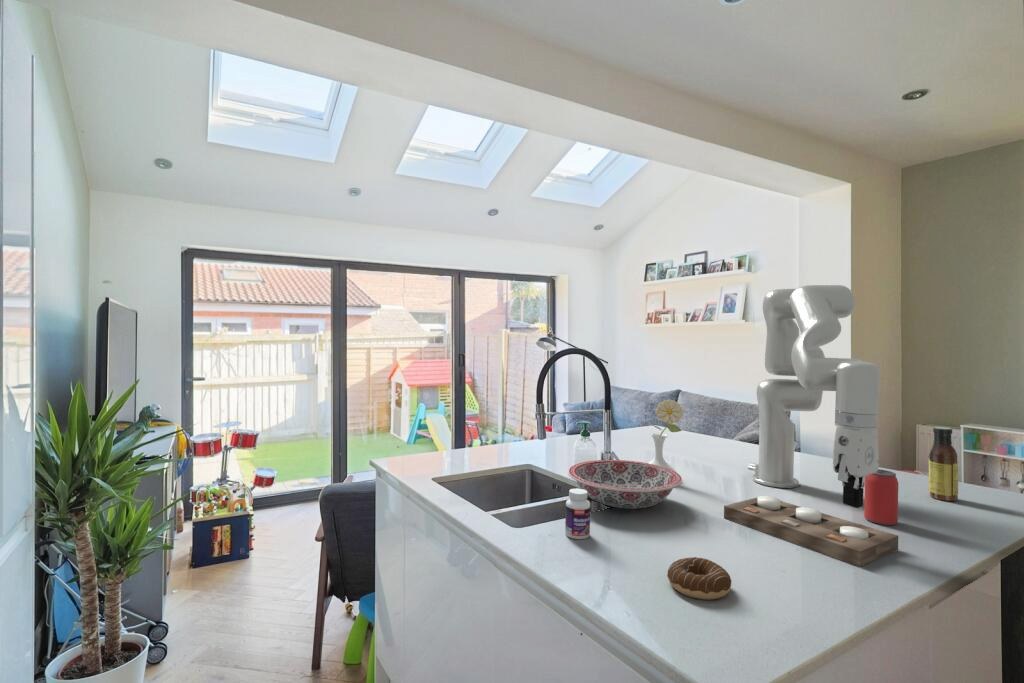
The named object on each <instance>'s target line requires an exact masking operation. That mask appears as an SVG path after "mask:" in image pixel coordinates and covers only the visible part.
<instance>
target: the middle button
mask: <svg viewBox="0 0 1024 683" xmlns="http://www.w3.org/2000/svg"><path fill="white" fill-rule="evenodd" d="M821 513H822V512H821V511H820V510H819V509H815V508H811V507H805V506H800V507H799V508H796V519H797V520H800V521H803V522H806V523H811V524H819V523H821Z"/></svg>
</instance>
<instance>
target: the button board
mask: <svg viewBox="0 0 1024 683" xmlns="http://www.w3.org/2000/svg"><path fill="white" fill-rule="evenodd" d="M758 497H759V496H757V497H753V498H750V499H746V500H742V501H738V502H734V503H729V504H725V505H724V506H723V519H725V520H728V521H732V522H734V523H737V524H738V525H742V526H745V527H748V528H751V529H753V530H756V531H759V532H762V533H764V534H767V535H770V536H773V537H776V538H778V539H782V540H783V541H786V542H790V543H792V544H794V545H795V544H796V545H798V546H800V547H803V548H806V549H808V550H811V551H815V552H818V553H820V554H823V555H825V556H828V557H831V558H834V559H836V560H839V561H842V562H844V563H847V564H849V565H853V566H856V567H858V568H861V567H862V566H865V565H867V564H870V563H872V562H875V561H877V560H878V558H879V559H881V558H884V557H886V556H888V555H890V554H893V553H895V552H897V551H899V535H897V534H894V533H892V532H891V533H890V532H887V531H884V530H880V529H877V528H873V527H870V526H868V525H864V524H860V523H856V522H853V521H849V520H846V519H843V518H840V517H837V516H832V515H830V514H826V513H823V512H821V523H819V524H811V523H806V522H803V521H800V520H797V519H796V508H799V507H801V506H798V505H795V504H793V503H789V502H786V501H782V500H780V510H778V511H769V510H766V509H763V508H759V507H758V506H757V498H758ZM842 526H851V527H857V528H860V529H863V530H865V531H867V532H868V538H867V539H865V540H860V539H857V538H854V537H850V536H847V535H844V534H841V533H840V527H842ZM896 550H897V551H896ZM894 551H895V552H894ZM892 552H893V553H892ZM889 553H890V554H889ZM887 554H888V555H887ZM885 555H886V556H885ZM876 559H877V560H876Z"/></svg>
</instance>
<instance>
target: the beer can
mask: <svg viewBox="0 0 1024 683" xmlns="http://www.w3.org/2000/svg"><path fill="white" fill-rule="evenodd" d="M896 475H897V473H895V472H893V471H891V470H890V471H889V470H887V469H878V471H877V472H875V473H873V474H870V475H867V476H866V478H865V486H864V502H863V506H864V509H863V510H864V511H863V512H864V513H863V515H864V516H863V517H864V518H865V520H867V521H868V520H869V521H868V522H870V521H871V523H873V522H874V523H873V524H876V523H878V524H877V525H881V524H883V525H882V526H895V525H897V524H898V522H899V521H898V520H899V518H898V517H899V515H898V514H899V481H898V478H897V476H896Z"/></svg>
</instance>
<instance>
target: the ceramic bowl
mask: <svg viewBox="0 0 1024 683" xmlns="http://www.w3.org/2000/svg"><path fill="white" fill-rule="evenodd" d="M675 471H676V470H675ZM675 471H673V470H670V469H668V468H665V467H662V466H658V465H654V464H649V462H642V461H635V460H623V459H622V460H621V459H597V460H596V459H595V460H589V461H584V462H579V463H575V464H574V465H572V466H570V467H569V469H568V471H567V472H568V476H569V477H570V478H571V479H573V481H576V484H577V485H578V486H579V489H584V490H586V491H587V497H588V498H590V499H592V500H593V501H595V502H597V503H599V504H602V505H604V506H608V507H612V508H619V509H631V510H632V509H644V508H648V507H651V506H655V505H657V504H660V503H661V502H662V501H664V500H665V499H666V498H667V497H668V496H669V495H670V494H671V493H672V491H673V489H675V488H678V487H680V485H681V484H682V483H683V477H682V475H681V474H679V473H678V472H677V471H676V472H677V473H676V472H675Z"/></svg>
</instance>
